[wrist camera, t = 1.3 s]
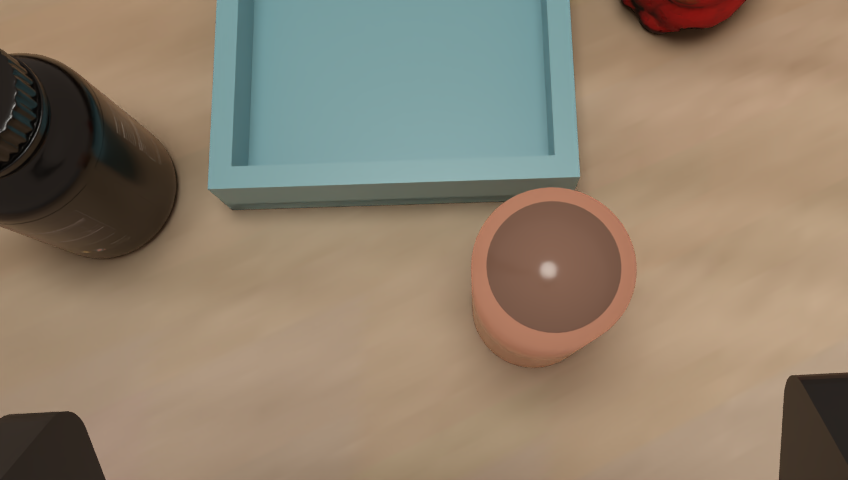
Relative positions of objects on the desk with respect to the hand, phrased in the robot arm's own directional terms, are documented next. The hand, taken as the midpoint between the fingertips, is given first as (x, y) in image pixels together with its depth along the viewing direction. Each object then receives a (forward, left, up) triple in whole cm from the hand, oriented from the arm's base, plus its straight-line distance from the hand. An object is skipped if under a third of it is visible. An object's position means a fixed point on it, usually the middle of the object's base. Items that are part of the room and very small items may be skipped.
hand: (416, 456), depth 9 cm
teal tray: (-3, +17, -26) cm, 32 cm away
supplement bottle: (-17, +11, -27) cm, 34 cm away
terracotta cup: (+3, +5, -27) cm, 27 cm away
